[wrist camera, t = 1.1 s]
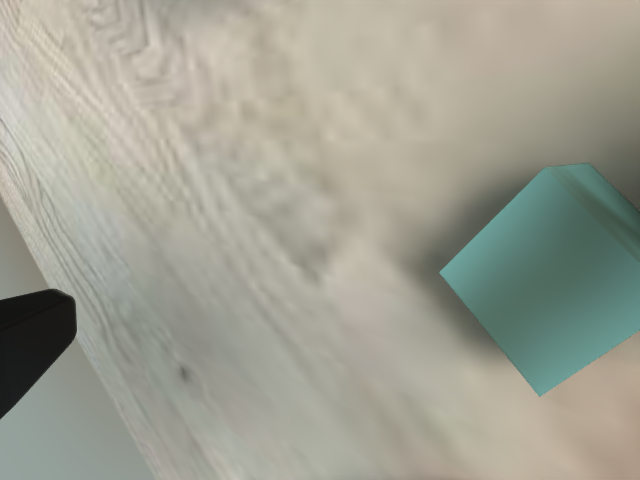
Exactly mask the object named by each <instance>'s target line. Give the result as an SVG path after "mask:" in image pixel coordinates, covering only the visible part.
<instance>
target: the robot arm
mask: <svg viewBox="0 0 640 480" xmlns="http://www.w3.org/2000/svg"><path fill="white" fill-rule="evenodd" d="M76 332H77V320H76V303H75V300H74V298H73V297H72V296H70V295H68V294H66V293H64V292H62V291H60V290H58V289H47V290H42V291H38V292H34V293H29V294H25V295H20V296H16V297H11V298H7V299H3V300H0V419H1V418H2V417H3V416H4V415H5V414H6V413H7V412H8V411H10V410H11V409H12V408H13V407H14V405H16V403H17V402H18V401H19V400H20V399H21V398H22V397H23V396H24V395H25V394H26V393H27V392H28V391H29V389H30V388H31V387H32V386H33V385H34V384H35V383H36V382H37V381H38V380H39V378H40V377H41V376H42V375H43V374H44V373H45V372H46V371H47V369H48V368H49V367H50V366H51V365H52V364H53V363H54V362H55V361H56V359H57V358H58V357H59V356H60V355H61V354H62V353H63V352H64V351H65V350H66V348H67V347H68V346H69V345H70V344H71V343H72V341H73V340H74V338H75V336H76Z"/></svg>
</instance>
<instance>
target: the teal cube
mask: <svg viewBox="0 0 640 480" xmlns="http://www.w3.org/2000/svg"><path fill="white" fill-rule="evenodd" d="M439 273H440V274H441V275H442V277H443V278H444V279H445V280H446V281H447V283H448V284H449V285H450V286H451V288H452V289H453V290H454V291H455V293H456V294H457V295H458V296H459V298H460V299H461V300H462V301H463V303H464V304H465V305H466V306H467V308H468V309H469V310H470V311H471V312H472V314H473V315H474V316H475V317H476V319H477V320H478V321H479V322H480V324H481V325H482V326H483V327H484V329H485V330H486V331H487V332H488V334H489V335H490V336H491V337H492V339H493V340H494V341H495V342H496V343H497V345H498V346H499V347H500V348H501V350H502V351H503V352H504V353H505V355H506V356H507V357H508V358H509V360H510V361H511V362H512V363H513V365H514V366H515V367H516V368H517V370H518V371H519V372H520V373H521V374H522V376H523V377H524V378H525V379H526V381H527V382H528V383H529V384H530V386H531V387H532V388H533V389H534V391H535V392H536V393H537V394H538V396H539V397H540V396H541V395H543V394H544V393H546V392H547V391H549V390H550V389H552V388H553V387H555V386H556V385H558V384H559V383H561V382H562V381H564V380H565V379H567V378H568V377H570V376H571V375H573V374H574V373H576V372H577V371H579V370H580V369H582V368H583V367H585V366H586V365H588V364H589V363H591V362H592V361H594V360H595V359H597V358H598V357H600V356H601V355H603V354H604V353H606V352H607V351H609V350H610V349H612V348H613V347H615V346H616V345H618V344H619V343H621V342H622V341H624V340H625V339H627V338H628V337H630V336H631V335H633V334H634V333H636V332H637V331H639V330H640V212H639V211H638V210H637V209H636V208H635V207H634V206H633V205H632V204H631V203H630V202H629V201H628V200H627V199H626V198H625V197H624V196H623V195H622V194H621V193H619V192H618V191H617V190H616V189H615V188H614V187H613V186H612V185H611V184H610V183H609V182H608V181H607V180H606V179H605V178H604V177H603V176H602V175H601V174H600V173H599V172H598V171H597V170H596V169H595V168H594V167H593V166H591V165H590V164H589V163H584V164H574V165H564V166H555V167H545V168H544V169H543V170H542V171H541V172H540V173H539V174H538V175H537V176H536V177H535V178H534V179H533V180H532V181H531V182H530V183H529V184H528V185H527V186H526V187H525V188H524V189H523V190H521V191H520V192H519V193H518V194H517V195H516V196H515V197H514V198H513V199H512V200H511V201H510V202H509V203H508V204H507V205H506V206H505V207H504V208H503V209H502V210H501V211H500V212H499V213H498V214H497V215H496V216H495V217H494V218H493V219H492V220H491V221H490V222H489V223H488V224H487V225H486V226H485V227H484V228H483V229H482V230H481V231H480V232H479V233H478V234H477V235H476V236H475V237H474V238H473V239H472V240H471V241H470V242H469V243H468V244H467V245H466V246H465V247H464V248H463V249H462V250H461V251H460V252H459V253H458V254H457V255H456V256H455V257H454V258H453V259H452V260H451V261H450V262H449V263H448V264H447V265H446V266H445V267H444V268H443V269H442V270H441V271H440V272H439Z"/></svg>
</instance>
